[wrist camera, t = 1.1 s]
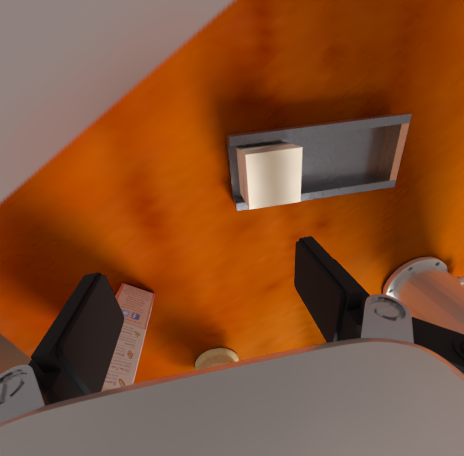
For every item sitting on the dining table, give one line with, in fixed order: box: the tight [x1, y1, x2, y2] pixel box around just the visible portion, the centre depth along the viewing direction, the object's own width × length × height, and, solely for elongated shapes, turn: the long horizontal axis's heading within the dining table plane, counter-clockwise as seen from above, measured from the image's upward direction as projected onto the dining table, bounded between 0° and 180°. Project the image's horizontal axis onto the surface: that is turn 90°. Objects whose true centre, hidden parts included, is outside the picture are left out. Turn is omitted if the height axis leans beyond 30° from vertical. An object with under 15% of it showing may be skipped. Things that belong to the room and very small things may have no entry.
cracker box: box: [102, 283, 155, 391], centre depth 30 cm, size 14×6×21 cm, turn 148°
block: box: [236, 141, 303, 210], centre depth 27 cm, size 6×6×6 cm
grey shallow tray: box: [226, 114, 412, 211], centre depth 30 cm, size 22×9×3 cm, turn 96°
